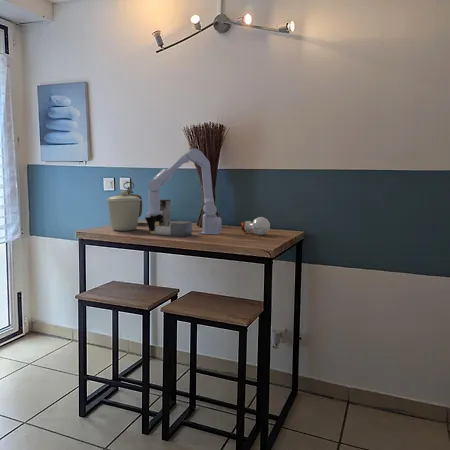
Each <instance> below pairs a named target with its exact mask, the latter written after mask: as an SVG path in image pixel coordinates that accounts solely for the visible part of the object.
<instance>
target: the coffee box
mask: <svg viewBox="0 0 450 450" xmlns="http://www.w3.org/2000/svg"><path fill="white" fill-rule="evenodd" d="M171 202H172V201H171V199H165V198H164V199H162V198H160V211H163V215H160V216H163V219H162V221H161V223H160V225H168V226H171ZM156 215H157V214H156Z"/></svg>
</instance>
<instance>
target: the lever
mask: <svg viewBox="0 0 450 450" xmlns="http://www.w3.org/2000/svg"><path fill="white" fill-rule="evenodd" d="M149 233H150V235H163V236H171V225H170V226H168V225H159V221H155V227H154V231H150V230H149Z"/></svg>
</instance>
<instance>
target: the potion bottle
mask: <svg viewBox="0 0 450 450" xmlns="http://www.w3.org/2000/svg"><path fill="white" fill-rule="evenodd" d="M270 227H271V223H270V221H269V220H268V219H267V218H265V217H263V216H258V217H257V218H254V219H253V221H251V220H246V221H242V222H241V231H242V232H244V233H245V234H246V233H247V234H250V232H252V231H253V233H254V234H255V235H258V236H263V235H267V234H268V233H269V231H270V229H271V228H270Z"/></svg>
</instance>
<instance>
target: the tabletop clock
mask: <svg viewBox="0 0 450 450" xmlns="http://www.w3.org/2000/svg"><path fill="white" fill-rule="evenodd" d="M126 184H132V185H133V186H132V187H130V186H127V187H125V185H126ZM134 187H135V184H134V182H132V181H126V182H124V183H123V188H124V189H125V191H127V195H126V196H135V197H139V198H140V199H141V201H140V208H139V218H141V217H142V214H143V200H142V195H140V194H135V193H134V191H133V190H132V189H134ZM115 196H122V195H121V193H120V194H117V195H115Z"/></svg>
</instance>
